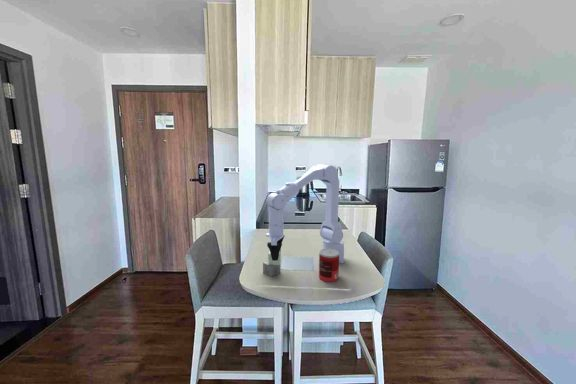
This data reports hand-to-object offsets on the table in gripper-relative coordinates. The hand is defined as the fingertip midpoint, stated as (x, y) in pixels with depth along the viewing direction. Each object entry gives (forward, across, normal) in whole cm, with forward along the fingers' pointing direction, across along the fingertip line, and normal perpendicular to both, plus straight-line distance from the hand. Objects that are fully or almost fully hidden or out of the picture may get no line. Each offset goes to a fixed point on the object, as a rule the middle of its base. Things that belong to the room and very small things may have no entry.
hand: (276, 256), depth 109 cm
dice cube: (+8, 0, -2) cm, 8 cm away
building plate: (+8, -10, +8) cm, 15 cm away
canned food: (+8, +2, +21) cm, 22 cm away
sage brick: (+3, 0, -1) cm, 3 cm away
